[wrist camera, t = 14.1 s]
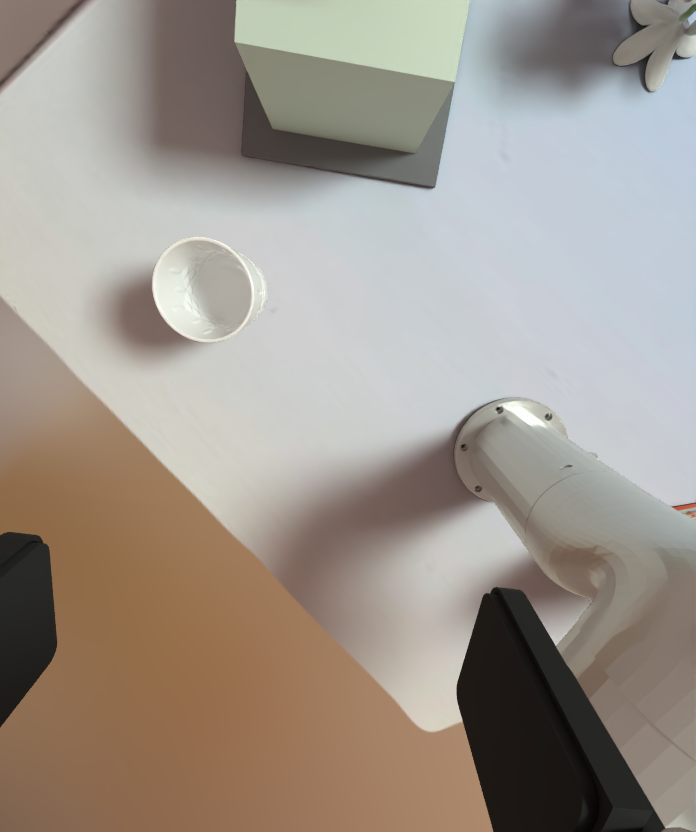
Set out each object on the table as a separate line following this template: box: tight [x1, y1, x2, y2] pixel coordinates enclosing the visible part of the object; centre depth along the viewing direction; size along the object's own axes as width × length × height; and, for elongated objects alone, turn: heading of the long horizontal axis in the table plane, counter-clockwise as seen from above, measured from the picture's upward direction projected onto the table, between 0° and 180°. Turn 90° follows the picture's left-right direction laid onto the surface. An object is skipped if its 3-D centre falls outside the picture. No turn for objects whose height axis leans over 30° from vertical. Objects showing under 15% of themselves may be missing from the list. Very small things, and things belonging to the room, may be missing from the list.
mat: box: [241, 70, 455, 188], centre depth 35 cm, size 18×18×1 cm
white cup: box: [152, 237, 268, 343], centre depth 37 cm, size 8×8×10 cm
